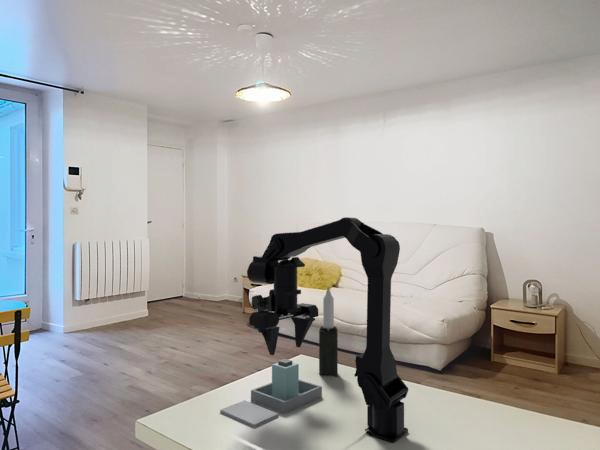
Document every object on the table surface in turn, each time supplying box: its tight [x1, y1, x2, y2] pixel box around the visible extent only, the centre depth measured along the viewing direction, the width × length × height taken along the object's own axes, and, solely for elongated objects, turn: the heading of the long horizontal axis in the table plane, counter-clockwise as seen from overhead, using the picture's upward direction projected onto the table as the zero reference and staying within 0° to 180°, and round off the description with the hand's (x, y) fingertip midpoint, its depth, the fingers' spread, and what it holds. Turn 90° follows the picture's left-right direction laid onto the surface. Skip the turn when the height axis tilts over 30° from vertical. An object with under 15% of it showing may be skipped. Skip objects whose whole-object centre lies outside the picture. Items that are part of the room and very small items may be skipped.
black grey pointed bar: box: [318, 285, 339, 378], centre depth 120 cm, size 5×5×25 cm
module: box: [271, 358, 300, 401], centre depth 102 cm, size 4×4×9 cm
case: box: [250, 379, 323, 414], centre depth 102 cm, size 12×13×3 cm
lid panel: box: [219, 400, 279, 429], centre depth 92 cm, size 11×7×1 cm, turn 49°
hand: (285, 350), depth 102 cm, fingers open, 9 cm apart
